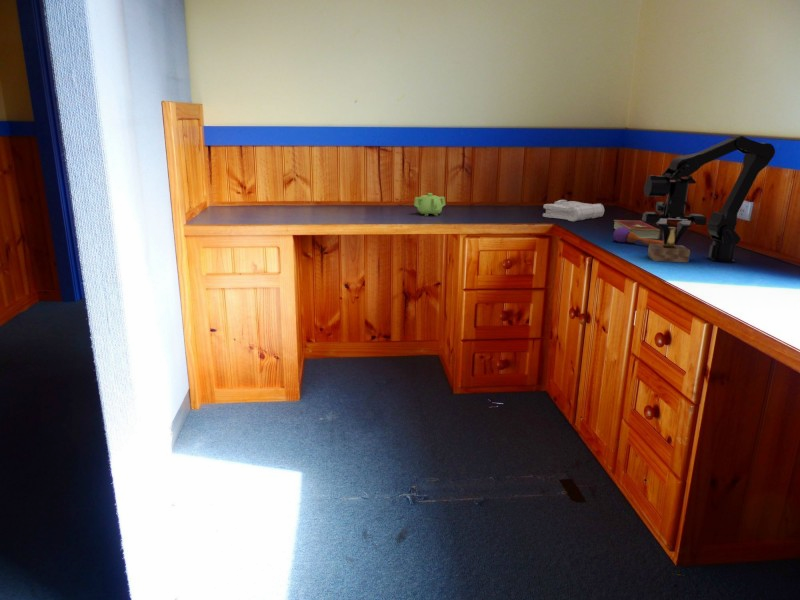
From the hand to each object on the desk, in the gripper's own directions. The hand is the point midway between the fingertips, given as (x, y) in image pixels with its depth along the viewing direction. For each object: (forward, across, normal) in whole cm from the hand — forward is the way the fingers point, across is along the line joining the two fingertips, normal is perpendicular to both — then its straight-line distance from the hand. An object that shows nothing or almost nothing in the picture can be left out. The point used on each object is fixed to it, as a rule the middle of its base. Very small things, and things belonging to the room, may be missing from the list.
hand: (669, 244), depth 206 cm
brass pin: (+2, 0, 0) cm, 2 cm away
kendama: (+6, +5, -22) cm, 23 cm away
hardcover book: (+6, +1, -47) cm, 47 cm away
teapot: (+5, +87, -69) cm, 111 cm away
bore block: (+5, 0, 0) cm, 5 cm away
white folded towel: (+6, +20, -84) cm, 87 cm away
